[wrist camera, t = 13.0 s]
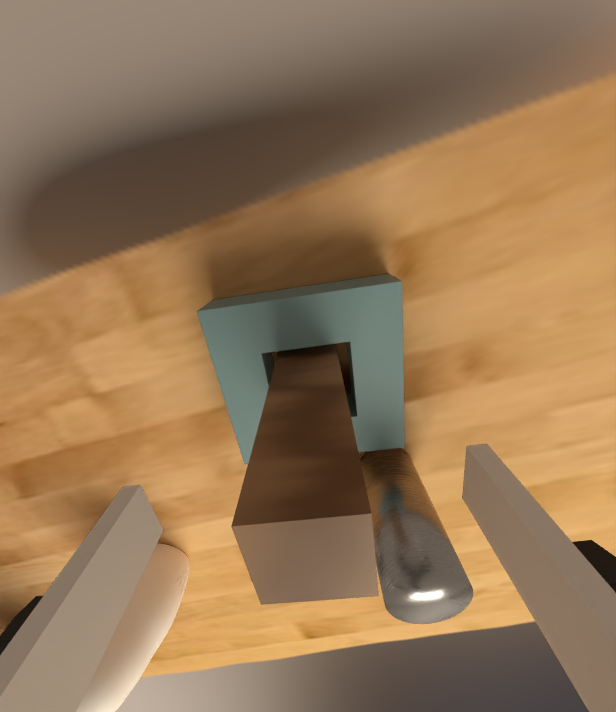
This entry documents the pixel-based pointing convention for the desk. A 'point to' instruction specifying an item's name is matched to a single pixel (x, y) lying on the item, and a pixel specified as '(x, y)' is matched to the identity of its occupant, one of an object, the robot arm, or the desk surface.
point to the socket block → (307, 329)
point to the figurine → (139, 630)
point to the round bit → (411, 543)
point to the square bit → (306, 489)
